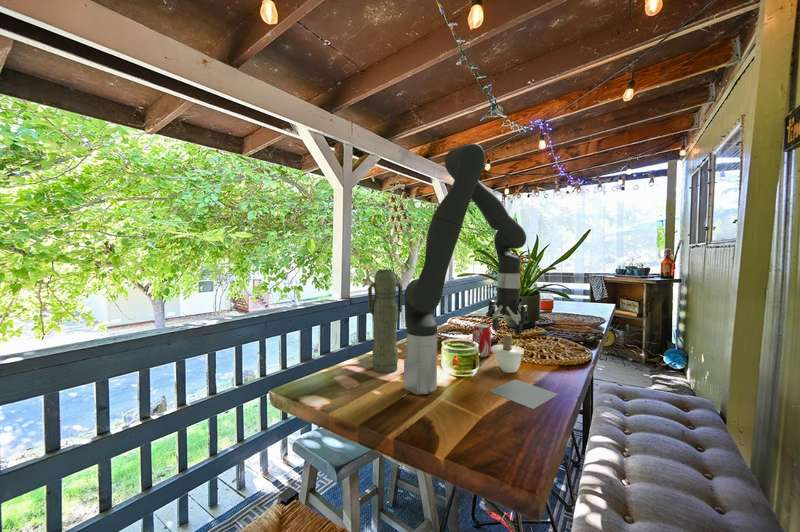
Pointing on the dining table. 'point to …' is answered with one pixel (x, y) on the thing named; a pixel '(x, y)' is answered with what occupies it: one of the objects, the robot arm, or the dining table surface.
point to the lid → (507, 348)
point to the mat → (524, 393)
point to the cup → (508, 363)
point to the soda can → (482, 338)
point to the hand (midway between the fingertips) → (506, 332)
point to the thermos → (385, 320)
